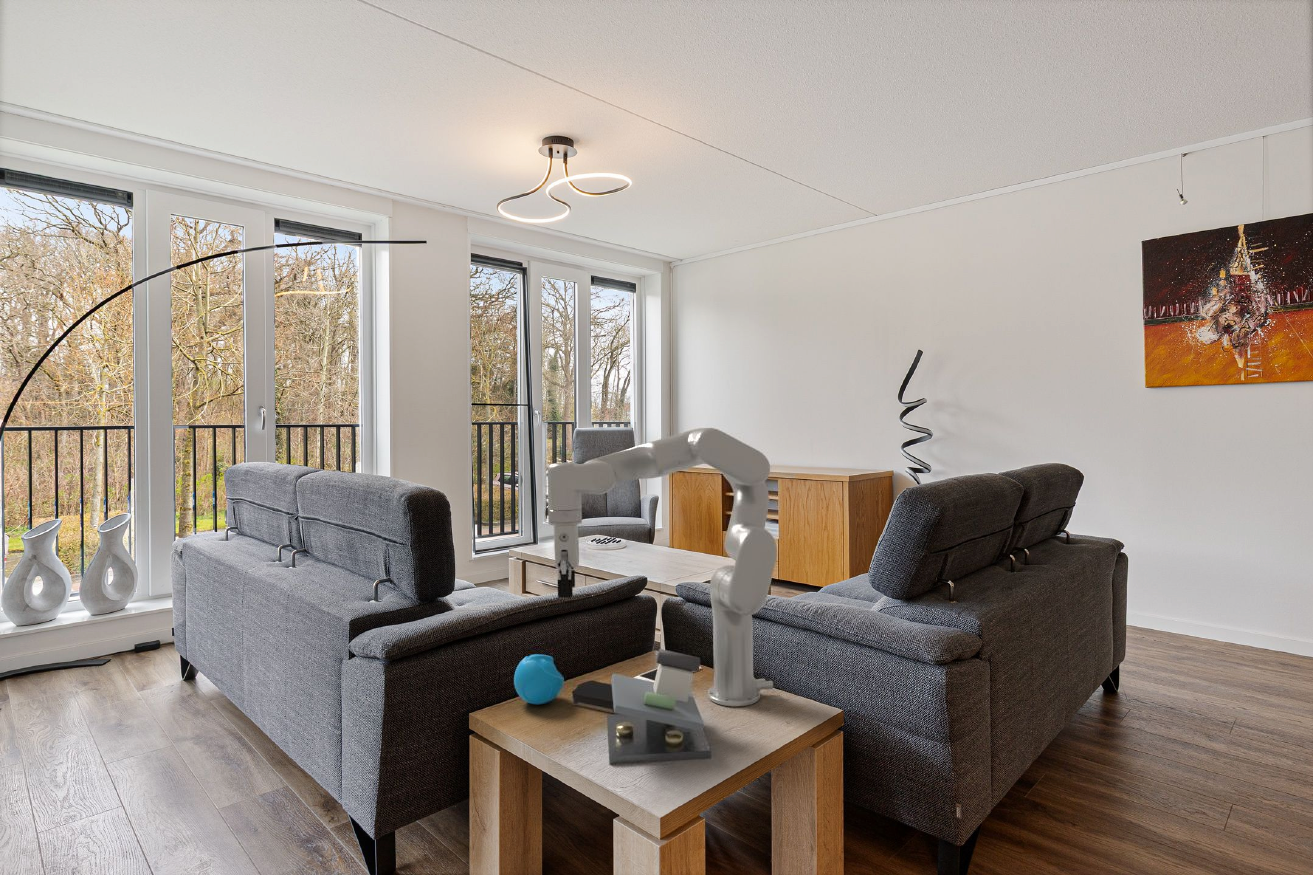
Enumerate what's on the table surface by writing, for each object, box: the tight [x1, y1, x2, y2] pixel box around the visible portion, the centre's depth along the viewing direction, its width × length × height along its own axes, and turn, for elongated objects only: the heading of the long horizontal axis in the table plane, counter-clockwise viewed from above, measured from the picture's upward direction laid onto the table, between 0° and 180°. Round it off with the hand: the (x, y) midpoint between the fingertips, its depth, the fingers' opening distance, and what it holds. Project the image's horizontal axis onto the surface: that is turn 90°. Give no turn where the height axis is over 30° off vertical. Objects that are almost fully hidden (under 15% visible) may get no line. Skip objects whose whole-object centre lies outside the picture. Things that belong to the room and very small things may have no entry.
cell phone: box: [633, 666, 702, 682], centre depth 182 cm, size 9×18×1 cm, turn 137°
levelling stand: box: [606, 713, 712, 765], centre depth 143 cm, size 20×20×5 cm
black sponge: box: [571, 680, 618, 714], centre depth 162 cm, size 16×8×4 cm, turn 60°
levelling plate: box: [611, 648, 705, 731], centre depth 143 cm, size 18×18×12 cm
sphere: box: [513, 654, 565, 705], centre depth 164 cm, size 12×11×12 cm
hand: (566, 592), depth 155 cm, fingers open, 9 cm apart
